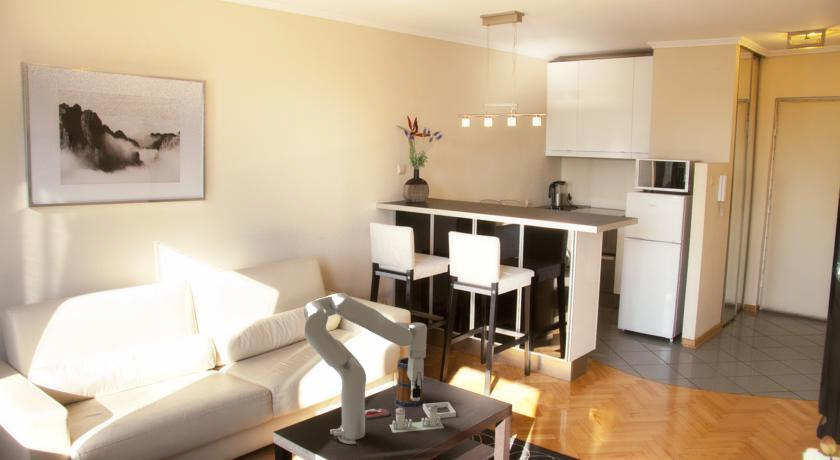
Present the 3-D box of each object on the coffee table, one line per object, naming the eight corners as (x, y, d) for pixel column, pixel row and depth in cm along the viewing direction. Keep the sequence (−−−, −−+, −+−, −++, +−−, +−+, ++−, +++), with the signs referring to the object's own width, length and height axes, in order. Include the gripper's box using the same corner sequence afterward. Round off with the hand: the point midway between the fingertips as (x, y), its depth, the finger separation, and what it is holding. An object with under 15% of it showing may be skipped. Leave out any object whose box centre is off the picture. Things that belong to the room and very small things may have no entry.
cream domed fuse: (396, 430, 276) (396, 411, 275) (395, 426, 280) (395, 408, 279) (405, 429, 277) (405, 410, 276) (403, 425, 281) (403, 407, 280)
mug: (385, 395, 318) (385, 355, 315) (413, 391, 324) (413, 351, 321) (401, 410, 300) (401, 367, 298) (430, 405, 306) (430, 363, 304)
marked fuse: (411, 401, 276) (412, 382, 275) (409, 397, 280) (410, 379, 279) (420, 400, 277) (421, 382, 276) (418, 397, 281) (419, 378, 280)
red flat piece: (386, 412, 299) (343, 418, 292) (386, 402, 299) (343, 409, 291) (392, 419, 291) (348, 426, 284) (392, 410, 291) (348, 416, 283)
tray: (429, 422, 288) (429, 414, 287) (422, 411, 299) (422, 404, 299) (455, 419, 291) (456, 412, 290) (448, 409, 302) (448, 401, 302)
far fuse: (429, 427, 280) (429, 408, 279) (427, 423, 283) (427, 405, 282) (438, 426, 280) (438, 408, 279) (435, 422, 284) (436, 404, 283)
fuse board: (392, 436, 274) (392, 425, 273) (389, 428, 282) (389, 417, 281) (444, 431, 279) (444, 421, 278) (439, 423, 287) (439, 413, 286)
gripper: (403, 347, 283) (402, 388, 285) (412, 359, 267) (410, 403, 269) (420, 346, 285) (419, 387, 287) (430, 358, 269) (428, 402, 271)
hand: (415, 394), depth 278 cm, fingers closed on marked fuse, 3 cm apart
